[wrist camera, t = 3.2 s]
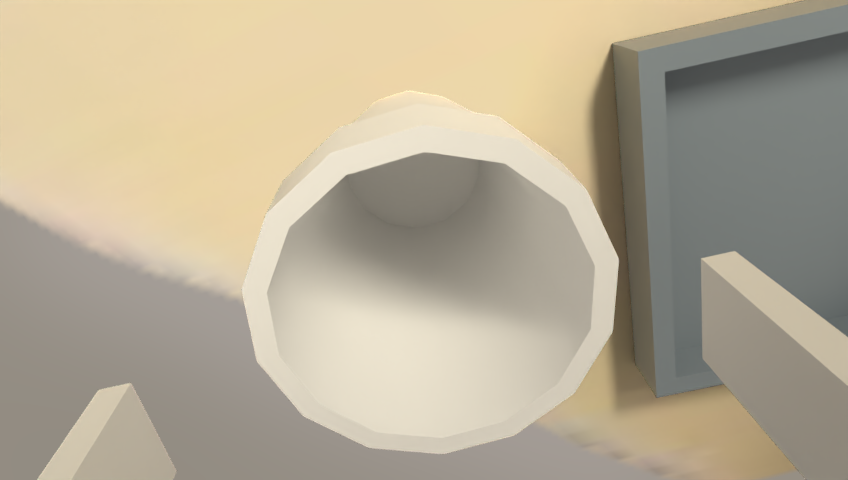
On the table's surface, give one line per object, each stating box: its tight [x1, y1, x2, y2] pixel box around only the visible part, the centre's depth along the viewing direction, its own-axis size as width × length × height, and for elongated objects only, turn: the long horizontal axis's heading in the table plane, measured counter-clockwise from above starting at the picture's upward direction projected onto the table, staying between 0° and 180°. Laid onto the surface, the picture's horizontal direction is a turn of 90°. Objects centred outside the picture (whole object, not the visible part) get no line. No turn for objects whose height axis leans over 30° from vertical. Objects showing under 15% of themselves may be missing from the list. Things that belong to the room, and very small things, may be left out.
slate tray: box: [612, 0, 848, 398], centre depth 27 cm, size 17×17×3 cm
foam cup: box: [241, 90, 619, 454], centre depth 21 cm, size 10×9×13 cm
